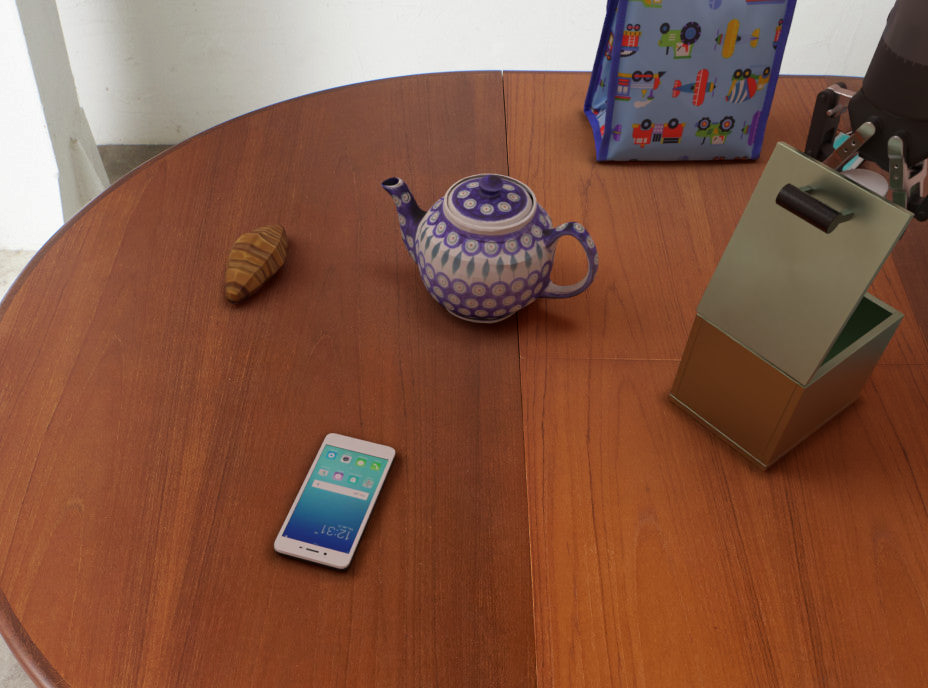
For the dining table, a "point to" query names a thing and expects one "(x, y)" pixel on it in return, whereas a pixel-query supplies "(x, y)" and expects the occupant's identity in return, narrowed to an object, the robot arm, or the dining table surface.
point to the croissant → (254, 261)
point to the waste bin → (776, 384)
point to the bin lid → (800, 261)
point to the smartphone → (335, 502)
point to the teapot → (486, 246)
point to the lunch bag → (686, 78)
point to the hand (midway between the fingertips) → (849, 227)
